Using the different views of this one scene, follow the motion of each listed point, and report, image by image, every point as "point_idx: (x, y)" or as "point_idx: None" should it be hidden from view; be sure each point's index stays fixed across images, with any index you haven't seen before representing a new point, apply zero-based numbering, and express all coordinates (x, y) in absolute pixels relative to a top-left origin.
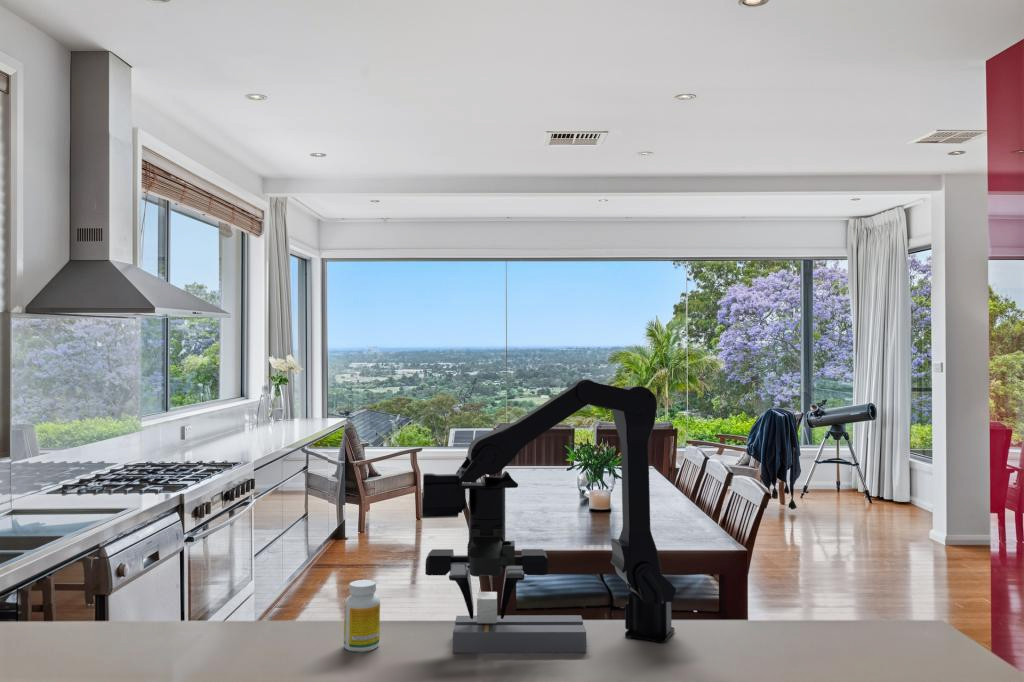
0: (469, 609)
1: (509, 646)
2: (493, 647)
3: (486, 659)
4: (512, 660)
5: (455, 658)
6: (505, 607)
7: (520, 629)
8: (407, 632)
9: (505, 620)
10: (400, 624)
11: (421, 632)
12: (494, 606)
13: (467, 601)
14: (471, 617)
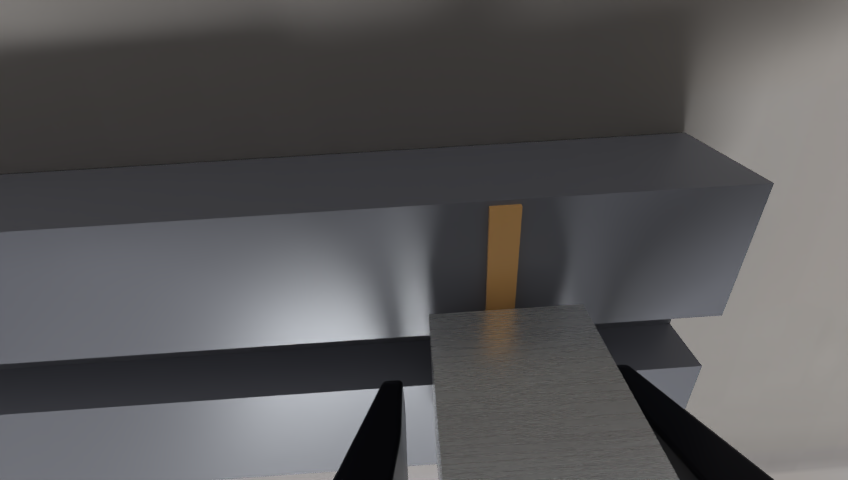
0: (675, 414)
1: (330, 169)
2: (437, 161)
3: (476, 26)
4: (292, 14)
5: (684, 36)
6: (358, 451)
7: (240, 271)
8: (840, 373)
9: None
10: (838, 440)
11: (777, 377)
12: (461, 427)
13: (746, 476)
14: (624, 370)
